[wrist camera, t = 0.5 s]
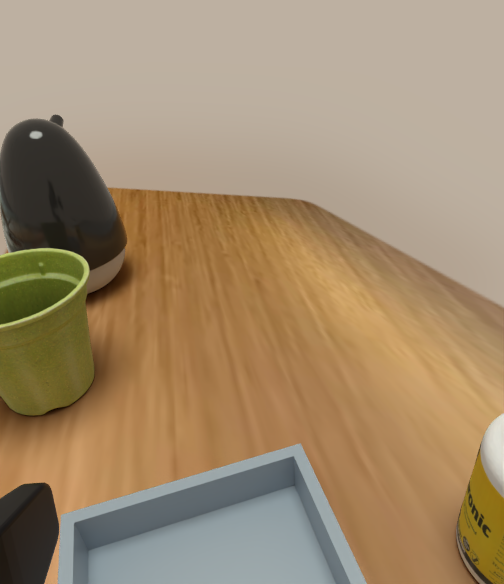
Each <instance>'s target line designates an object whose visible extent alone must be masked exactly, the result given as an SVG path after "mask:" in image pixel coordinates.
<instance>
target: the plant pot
mask: <svg viewBox="0 0 504 584" xmlns="http://www.w3.org/2000/svg"><path fill="white" fill-rule="evenodd" d="M89 276H90V269H89V265H88V263H87V261H86V260H85V259H84V258H83V257H82V256H80V255H78V254H76V253H74V252H71V251H67V250H61V249H53V248H39V249H30V250H22V251H17V252H12V253H7V254H3V255H0V396H1V397H2V399H3V400H4V401H5V403H6V404H7V405H8V406H9V408H11V409H12V410H13V411H15V412H17V413H20V414H23V415H43V414H45V413H46V412H48V411H50V410H52V409H55V408H59V407H66V406H68V405H70V404H72V403H73V402H75V401H76V400H78V399H79V398H80V397H81V396H82V395H83V394H84V393H85V392H86V391H87V390H88V388H89V387H90V385H91V384H92V382H93V379H94V362H93V355H92V349H91V343H90V336H89V328H88V320H87V312H86V303H85V300H86V297H87V285H86V284H87V282H88V280H89Z"/></svg>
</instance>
